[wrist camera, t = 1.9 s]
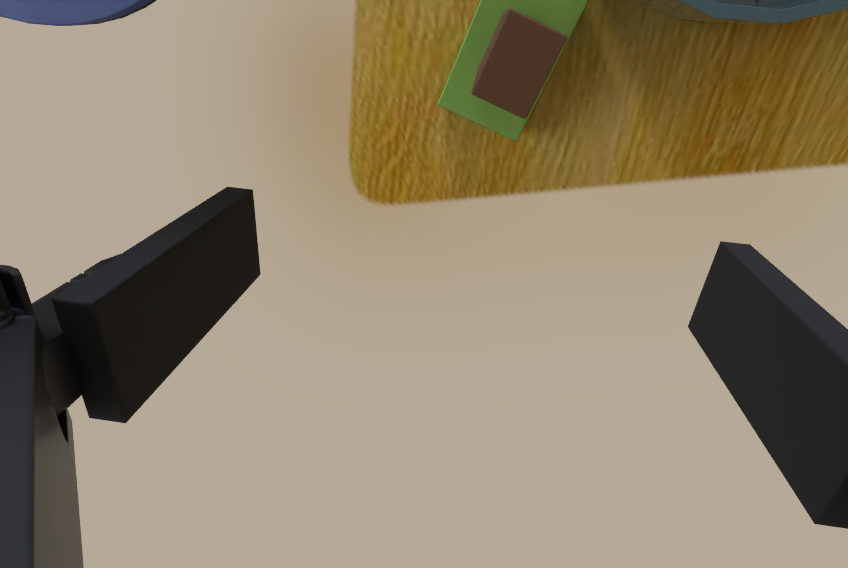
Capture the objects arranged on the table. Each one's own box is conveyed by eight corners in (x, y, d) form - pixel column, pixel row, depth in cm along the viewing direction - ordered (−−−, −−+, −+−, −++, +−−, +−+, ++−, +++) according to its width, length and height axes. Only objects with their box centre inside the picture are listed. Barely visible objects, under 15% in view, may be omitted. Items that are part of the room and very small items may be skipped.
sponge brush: (514, 131, 31) (526, 188, 21) (441, 97, 31) (416, 137, 20) (582, -4, 28) (639, -20, 17) (500, -45, 27) (507, -87, 17)
